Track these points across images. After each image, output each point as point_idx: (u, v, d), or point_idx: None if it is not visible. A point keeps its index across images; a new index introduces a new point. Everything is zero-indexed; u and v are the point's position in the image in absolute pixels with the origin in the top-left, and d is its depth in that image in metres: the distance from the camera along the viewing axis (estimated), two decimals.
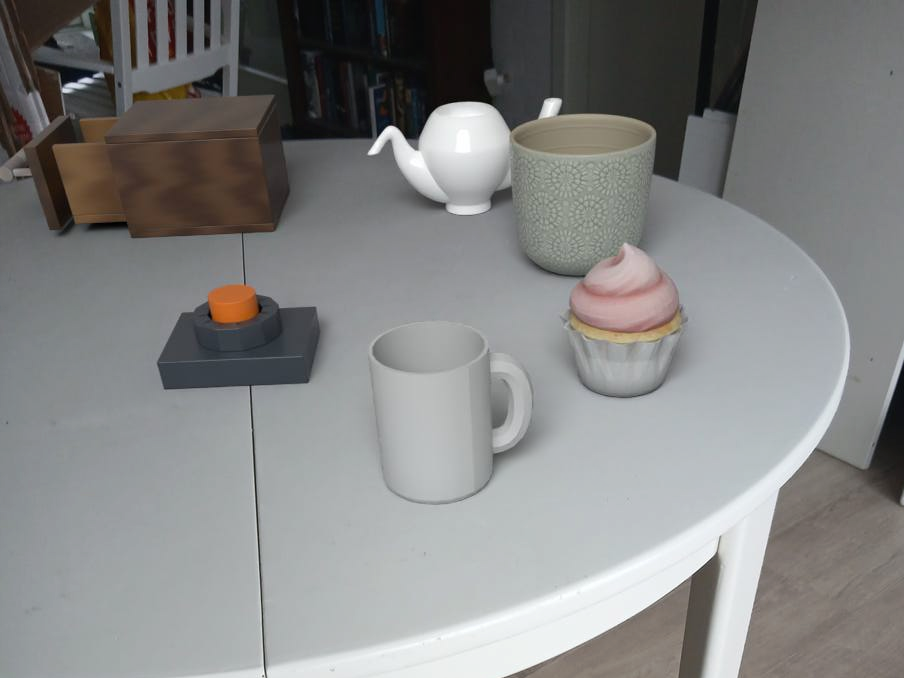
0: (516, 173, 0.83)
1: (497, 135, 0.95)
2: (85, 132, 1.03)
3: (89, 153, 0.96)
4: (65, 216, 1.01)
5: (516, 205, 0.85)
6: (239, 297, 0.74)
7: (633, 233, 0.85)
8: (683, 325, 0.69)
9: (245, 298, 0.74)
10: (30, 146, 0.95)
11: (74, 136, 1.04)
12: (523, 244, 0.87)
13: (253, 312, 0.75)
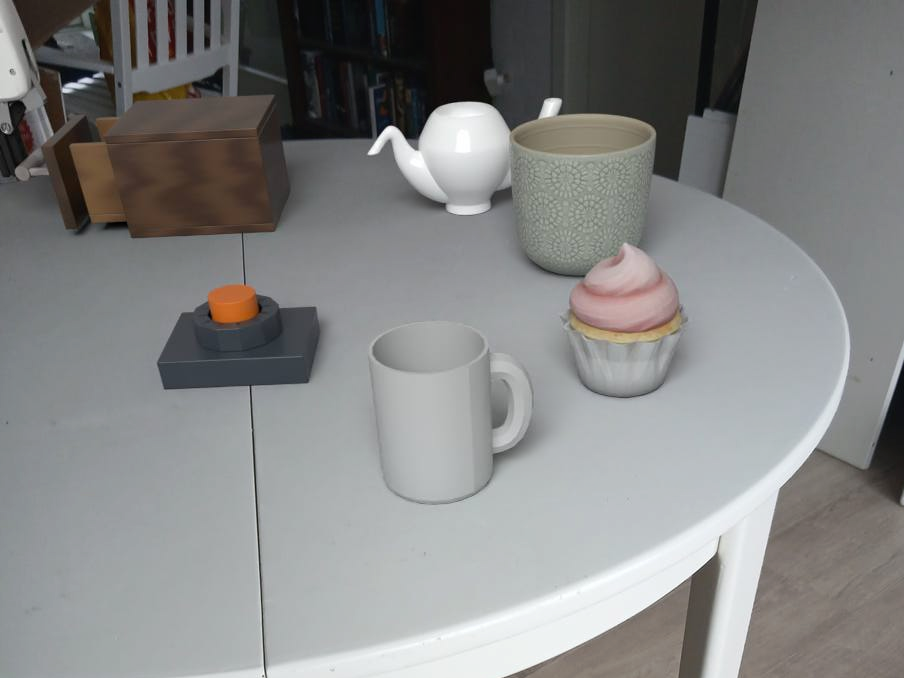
0: (516, 173, 0.83)
1: (497, 135, 0.95)
2: (101, 131, 1.03)
3: (106, 152, 0.96)
4: (81, 215, 1.01)
5: (516, 205, 0.85)
6: (239, 297, 0.74)
7: (633, 233, 0.85)
8: (683, 325, 0.69)
9: (245, 298, 0.74)
10: (47, 145, 0.95)
11: (90, 135, 1.04)
12: (523, 244, 0.87)
13: (253, 312, 0.75)
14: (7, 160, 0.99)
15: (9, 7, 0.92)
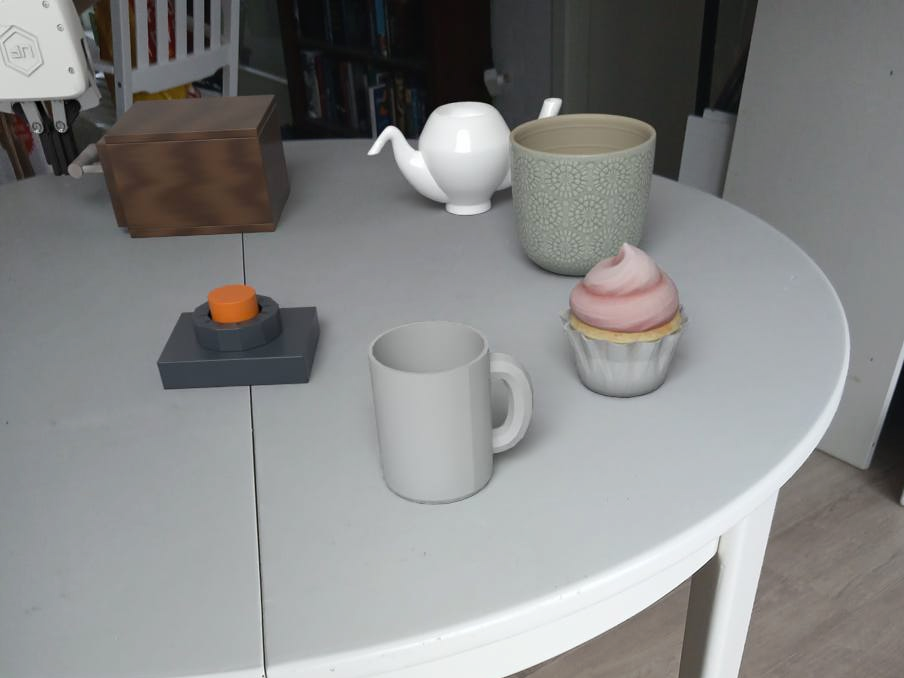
0: (516, 173, 0.83)
1: (497, 135, 0.95)
2: None
3: None
4: None
5: (516, 205, 0.85)
6: (239, 297, 0.74)
7: (633, 233, 0.85)
8: (683, 325, 0.69)
9: (245, 298, 0.74)
10: (102, 143, 0.95)
11: None
12: (523, 244, 0.87)
13: (253, 312, 0.75)
14: (60, 158, 0.99)
15: (70, 6, 0.92)
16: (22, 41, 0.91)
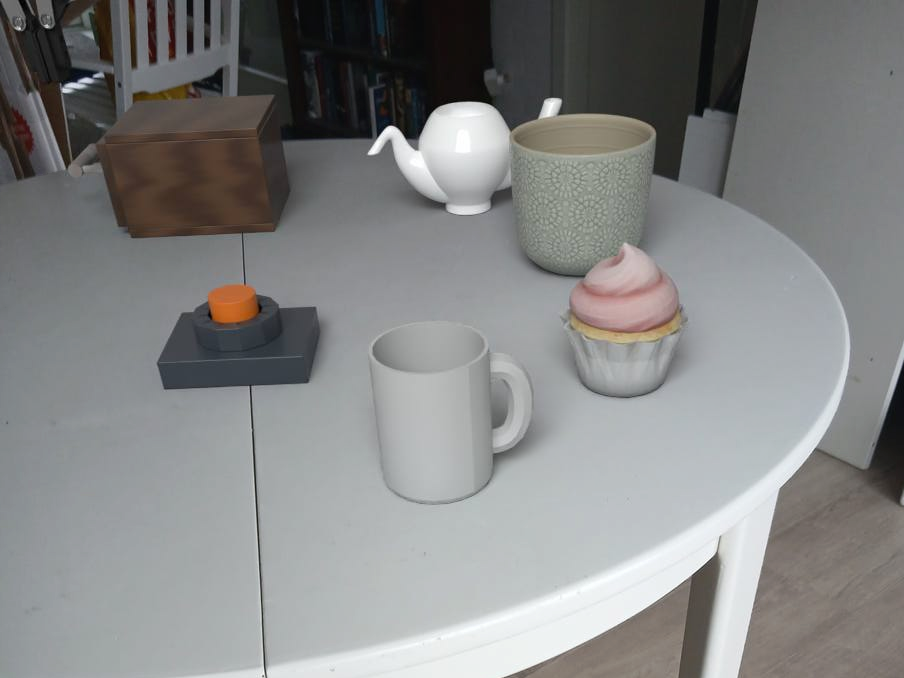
0: (516, 173, 0.83)
1: (497, 135, 0.95)
2: None
3: None
4: None
5: (516, 205, 0.85)
6: (239, 297, 0.74)
7: (633, 233, 0.85)
8: (683, 325, 0.69)
9: (245, 298, 0.74)
10: (102, 143, 0.95)
11: None
12: (523, 244, 0.87)
13: (253, 312, 0.75)
14: (48, 62, 0.83)
15: None
16: None
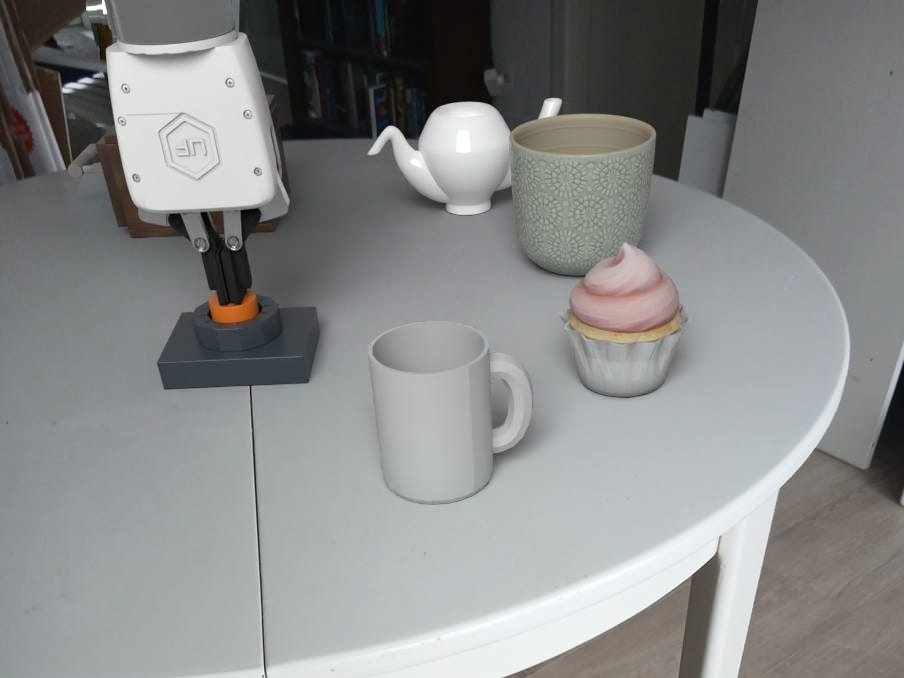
0: (516, 173, 0.83)
1: (497, 135, 0.95)
2: None
3: None
4: None
5: (516, 205, 0.85)
6: None
7: (633, 233, 0.85)
8: (683, 325, 0.69)
9: (246, 302, 0.74)
10: (102, 143, 0.95)
11: None
12: (523, 244, 0.87)
13: (254, 316, 0.75)
14: (229, 284, 0.73)
15: (259, 83, 0.65)
16: (193, 134, 0.65)
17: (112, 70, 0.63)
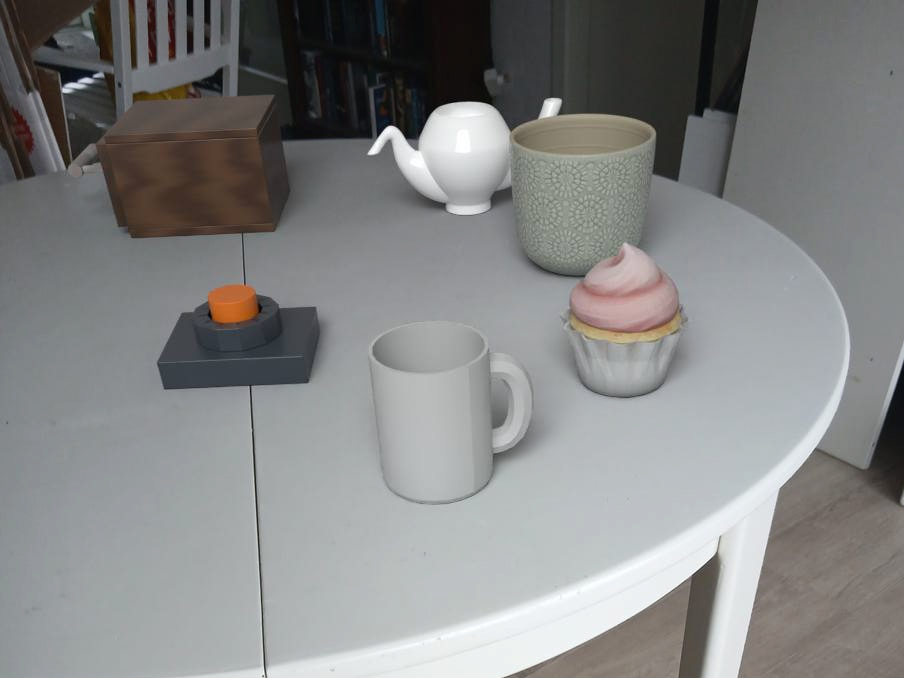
0: (516, 173, 0.83)
1: (497, 135, 0.95)
2: None
3: None
4: None
5: (516, 205, 0.85)
6: (239, 297, 0.74)
7: (633, 233, 0.85)
8: (683, 325, 0.69)
9: (245, 298, 0.74)
10: (102, 143, 0.95)
11: None
12: (523, 244, 0.87)
13: (253, 312, 0.75)
14: None
15: None
16: None
17: None
